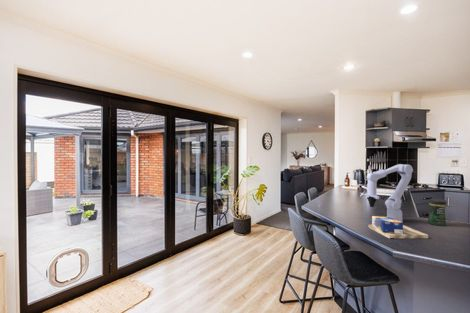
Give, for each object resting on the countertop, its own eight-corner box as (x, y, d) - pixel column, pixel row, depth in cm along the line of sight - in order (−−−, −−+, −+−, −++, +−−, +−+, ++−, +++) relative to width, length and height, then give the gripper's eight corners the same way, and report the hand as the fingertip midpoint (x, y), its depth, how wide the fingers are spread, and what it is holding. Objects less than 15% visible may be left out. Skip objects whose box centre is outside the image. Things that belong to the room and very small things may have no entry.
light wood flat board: (402, 227, 166) (402, 224, 166) (428, 238, 145) (428, 235, 145) (368, 227, 165) (368, 224, 165) (389, 238, 144) (389, 235, 144)
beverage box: (389, 227, 167) (403, 234, 146) (372, 225, 169) (383, 232, 148) (389, 217, 167) (403, 222, 146) (371, 215, 170) (382, 221, 149)
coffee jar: (432, 225, 171) (433, 199, 171) (426, 222, 179) (426, 197, 179) (448, 226, 169) (448, 200, 169) (440, 223, 177) (441, 198, 177)
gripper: (361, 187, 189) (361, 204, 190) (373, 190, 175) (372, 209, 175) (370, 187, 190) (369, 204, 190) (382, 190, 175) (382, 209, 175)
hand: (371, 206), depth 183 cm, fingers closed
